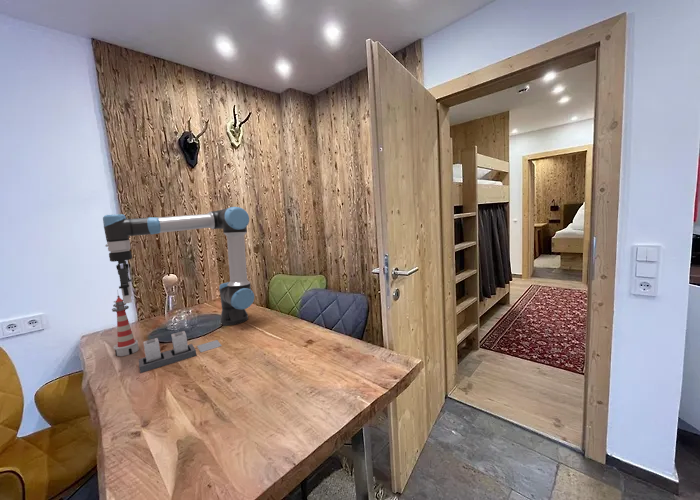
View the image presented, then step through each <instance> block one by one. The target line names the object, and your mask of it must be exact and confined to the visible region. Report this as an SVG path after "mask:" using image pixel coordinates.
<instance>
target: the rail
mask: <svg viewBox="0 0 700 500" xmlns="http://www.w3.org/2000/svg"><path fill="white" fill-rule="evenodd" d="M160 353H161V360H158V361H155V362H152V363H148V364H147V362H146V356H145V357H141V358H138V367H139V373H140V374H142V373H145V372H146V373H147V372H148V371H152V370H156V369H158V368H162V367H165V366H167V365H172V364H175V363H178V362H181V361H185V360H188V359H191V358H193V357H197V350H196V348H195V347H194V345H193V343H190V344H188V352H185V353H182V354H178V355H175V356H174V349H173V348H172V349H170V350H169V349H168V350H165V351H162V352H160Z"/></svg>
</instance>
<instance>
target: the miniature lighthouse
mask: <svg viewBox="0 0 700 500" xmlns="http://www.w3.org/2000/svg"><path fill="white" fill-rule="evenodd" d="M118 290H119V289H117V293H119V291H118ZM116 297H117V298H116V300H114V301H113V303H114V304H112V306H113V308H112V309H111V311H112V312H114V313H115V312H116V328H117V332H116V333H117V337H116V338H117V344H114V346H113V350H114V352H115V356H116V357H125V356H129V355H133V354H134V353H136V352H138V351H139V341H138V339H135V337H134V334H133V331H132V327H131V325H130V322H129V319H128V316H127V313H126V310H128V309H129V307H130V306H129V305H127V303H126V304H124V302H123V298H121V297H120V295H119V294H117V296H116Z"/></svg>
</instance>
